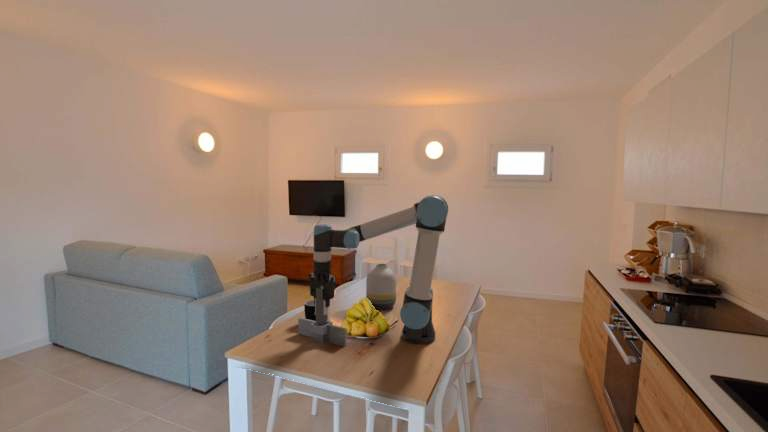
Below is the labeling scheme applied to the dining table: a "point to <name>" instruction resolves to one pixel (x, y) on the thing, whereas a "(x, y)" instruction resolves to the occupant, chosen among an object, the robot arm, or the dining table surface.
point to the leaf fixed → (332, 335)
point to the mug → (310, 310)
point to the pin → (320, 305)
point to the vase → (381, 287)
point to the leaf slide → (312, 327)
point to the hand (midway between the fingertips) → (321, 312)
